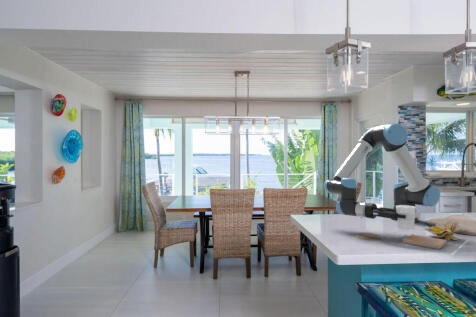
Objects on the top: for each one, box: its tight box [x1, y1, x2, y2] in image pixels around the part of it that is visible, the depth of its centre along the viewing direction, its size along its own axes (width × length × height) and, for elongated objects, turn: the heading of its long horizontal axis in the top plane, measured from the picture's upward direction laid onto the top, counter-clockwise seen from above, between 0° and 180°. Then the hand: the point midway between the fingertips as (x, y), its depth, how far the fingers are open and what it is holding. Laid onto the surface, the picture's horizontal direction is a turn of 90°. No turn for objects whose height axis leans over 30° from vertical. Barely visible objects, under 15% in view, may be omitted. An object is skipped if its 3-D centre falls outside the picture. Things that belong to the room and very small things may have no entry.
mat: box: [392, 235, 436, 250], centre depth 141 cm, size 16×17×1 cm
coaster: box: [355, 233, 382, 241], centre depth 150 cm, size 11×11×1 cm
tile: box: [403, 234, 448, 250], centre depth 139 cm, size 12×2×14 cm
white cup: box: [396, 205, 416, 231], centre depth 144 cm, size 8×8×10 cm
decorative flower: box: [424, 220, 462, 242], centre depth 149 cm, size 15×11×10 cm
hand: (417, 216), depth 141 cm, fingers closed on white cup, 7 cm apart
